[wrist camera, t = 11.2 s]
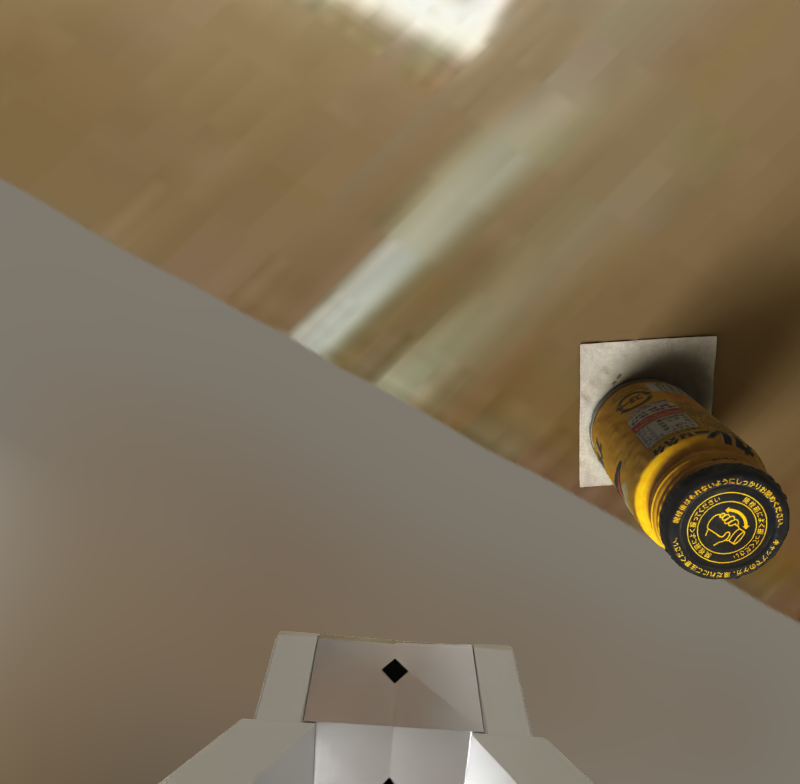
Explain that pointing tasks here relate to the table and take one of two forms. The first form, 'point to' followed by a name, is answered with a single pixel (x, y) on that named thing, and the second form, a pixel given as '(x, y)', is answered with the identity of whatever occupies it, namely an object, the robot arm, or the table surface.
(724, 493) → the condiment
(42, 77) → the table surface
